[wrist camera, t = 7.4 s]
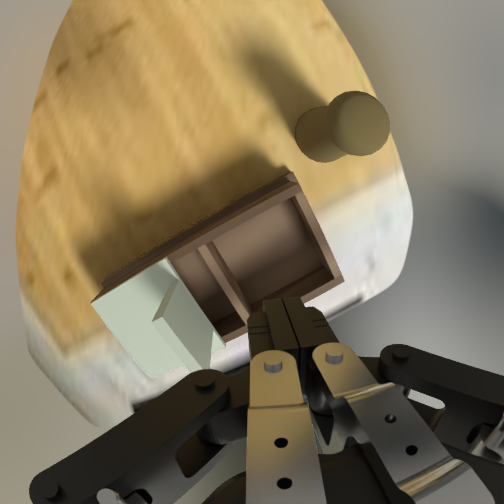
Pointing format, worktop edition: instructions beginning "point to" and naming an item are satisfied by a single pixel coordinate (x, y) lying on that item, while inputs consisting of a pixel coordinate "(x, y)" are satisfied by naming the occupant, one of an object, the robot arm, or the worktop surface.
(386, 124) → the olive rounded piece
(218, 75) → the worktop surface
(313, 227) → the caddy
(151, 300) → the lid
